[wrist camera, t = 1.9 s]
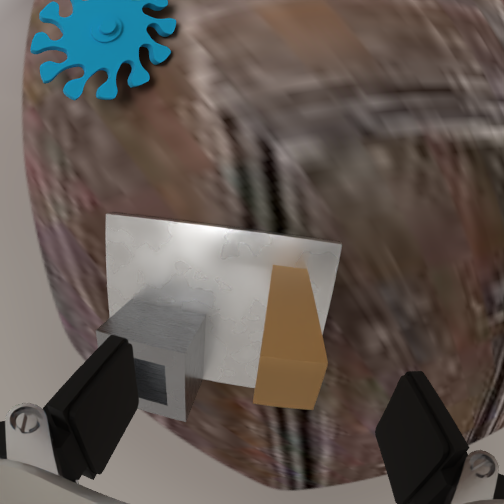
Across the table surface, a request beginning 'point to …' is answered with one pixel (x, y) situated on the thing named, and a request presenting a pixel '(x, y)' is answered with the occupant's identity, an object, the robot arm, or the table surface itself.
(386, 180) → the table surface
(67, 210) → the table surface
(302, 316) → the tan square peg
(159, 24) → the blue spiky virus toy
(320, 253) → the grey square socket base
